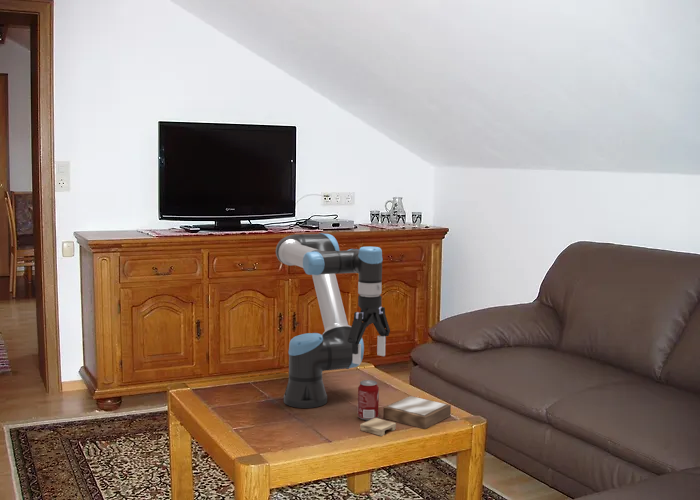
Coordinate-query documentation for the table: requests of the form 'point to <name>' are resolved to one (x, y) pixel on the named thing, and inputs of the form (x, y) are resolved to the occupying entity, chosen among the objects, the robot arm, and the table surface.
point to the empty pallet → (377, 426)
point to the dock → (417, 412)
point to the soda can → (368, 400)
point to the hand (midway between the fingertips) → (369, 359)
